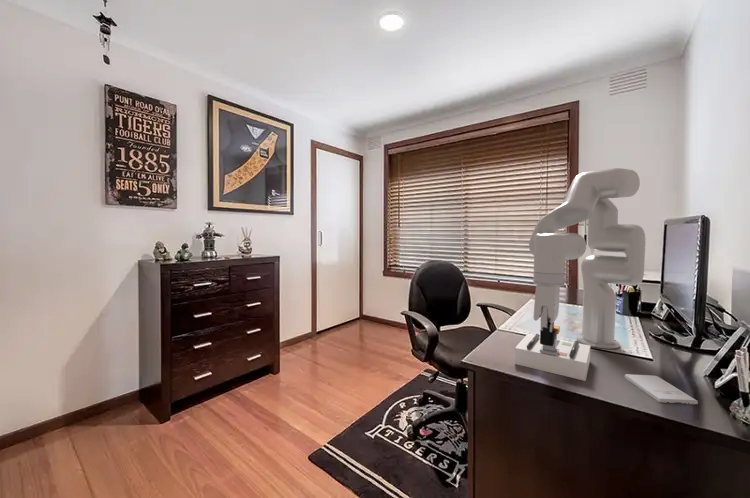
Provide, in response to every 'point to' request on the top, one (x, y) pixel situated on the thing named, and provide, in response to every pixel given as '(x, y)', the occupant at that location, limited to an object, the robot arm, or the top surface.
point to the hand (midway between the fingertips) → (546, 344)
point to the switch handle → (553, 349)
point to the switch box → (554, 357)
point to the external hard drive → (660, 389)
